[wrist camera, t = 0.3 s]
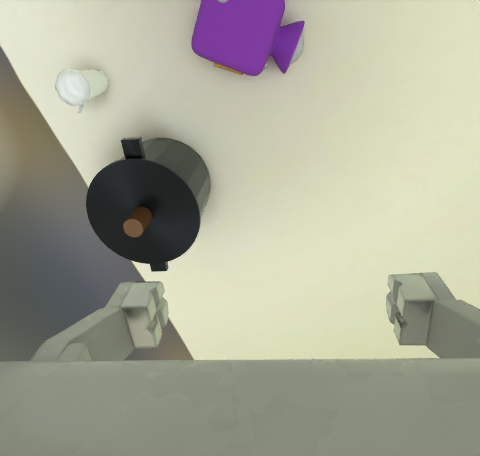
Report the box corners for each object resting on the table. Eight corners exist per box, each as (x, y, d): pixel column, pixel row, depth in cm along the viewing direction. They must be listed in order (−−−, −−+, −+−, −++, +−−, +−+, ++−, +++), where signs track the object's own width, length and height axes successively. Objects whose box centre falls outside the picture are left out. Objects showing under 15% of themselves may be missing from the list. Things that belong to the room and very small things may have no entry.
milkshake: (96, 107, 58) (64, 119, 49) (77, 72, 56) (40, 79, 47) (121, 95, 57) (93, 106, 48) (102, 59, 55) (69, 64, 46)
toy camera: (293, 80, 54) (297, 89, 46) (200, 64, 54) (185, 69, 46) (311, -8, 49) (320, -17, 41) (208, -25, 49) (194, -38, 41)
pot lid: (105, 261, 57) (90, 281, 52) (75, 160, 50) (55, 172, 45) (208, 257, 55) (202, 278, 51) (192, 152, 48) (183, 164, 44)
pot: (137, 236, 68) (111, 275, 57) (110, 124, 59) (73, 144, 48) (217, 232, 67) (206, 272, 56) (201, 117, 58) (184, 136, 47)
